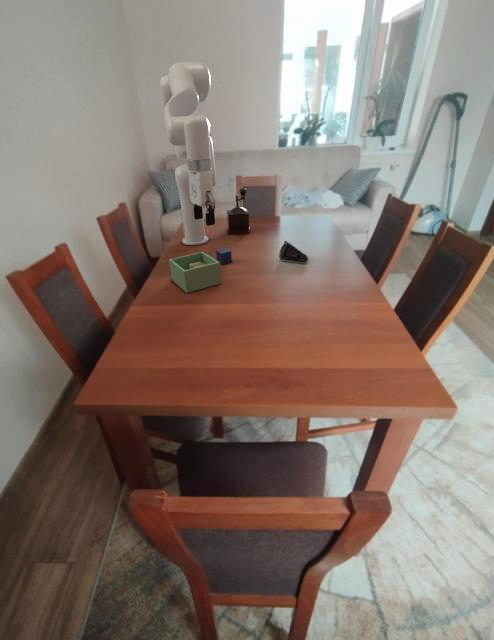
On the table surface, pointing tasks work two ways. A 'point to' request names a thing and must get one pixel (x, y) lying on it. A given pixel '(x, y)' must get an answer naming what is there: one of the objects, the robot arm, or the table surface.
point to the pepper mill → (238, 217)
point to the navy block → (223, 256)
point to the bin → (195, 272)
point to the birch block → (196, 265)
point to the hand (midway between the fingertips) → (204, 221)
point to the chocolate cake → (292, 254)
